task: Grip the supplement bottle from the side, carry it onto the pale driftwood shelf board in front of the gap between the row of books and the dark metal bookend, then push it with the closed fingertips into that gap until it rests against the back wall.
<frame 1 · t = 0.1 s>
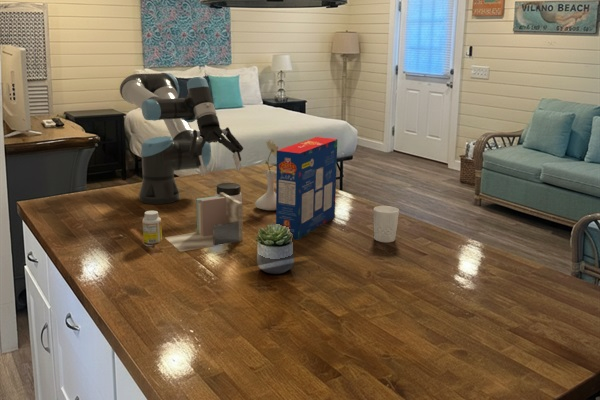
hand: (221, 172, 213), 15 cm above the worktop, tool tilted 35°, fingers open, 13 cm apart
bookend: (226, 242, 186), resting on shelf
flower in vase: (270, 208, 226), on the worktop
books: (211, 232, 195), resting on shelf
pasta box: (306, 226, 207), on the worktop
jar: (229, 219, 212), on the worktop
supplement bottle: (153, 244, 187), on the worktop
shelf: (203, 242, 189), on the worktop
white cup: (384, 239, 196), on the worktop
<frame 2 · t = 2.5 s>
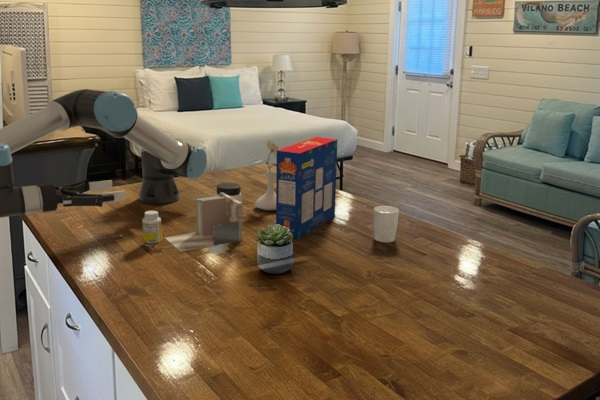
hand: (118, 189, 177), 18 cm above the worktop, tool horizontal, fingers open, 13 cm apart
nothing on the worktop moved.
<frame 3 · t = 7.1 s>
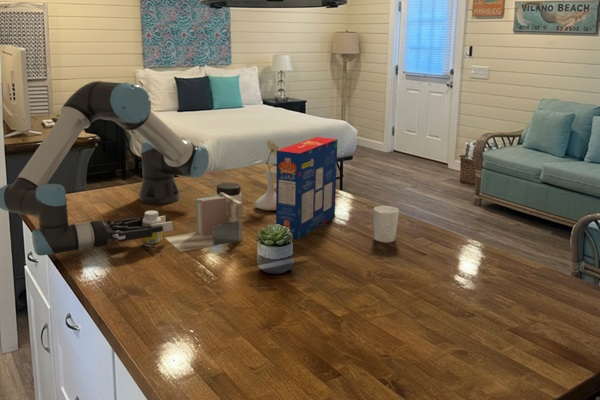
hand: (168, 222, 188), 6 cm above the worktop, tool horizontal, fingers closed on supplement bottle, 6 cm apart
supplement bottle: (153, 244, 187), on the worktop, touching gripper
everything else where it was.
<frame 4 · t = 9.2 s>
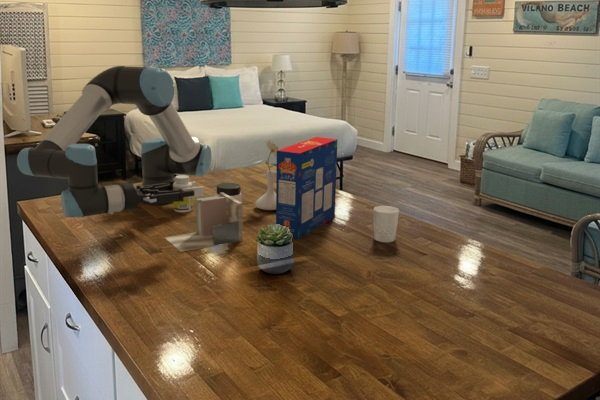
hand: (199, 188, 182), 18 cm above the worktop, tool horizontal, fingers closed on supplement bottle, 6 cm apart
supplement bottle: (183, 210, 181), point 12 cm above the worktop, touching gripper
everything else where it was.
when the fingers open (8 cm above the worktop, at t = 11.4 s): supplement bottle stays where it is, resting on shelf.
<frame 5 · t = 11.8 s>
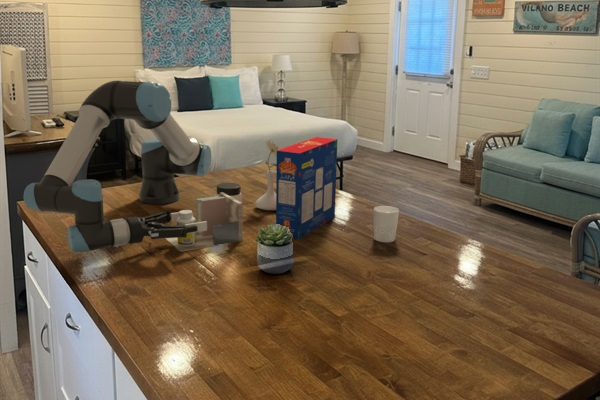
hand: (198, 220, 184), 8 cm above the worktop, tool horizontal, fingers open, 11 cm apart
supplement bottle: (187, 244, 184), point 1 cm above the worktop, touching shelf
everything else where it was.
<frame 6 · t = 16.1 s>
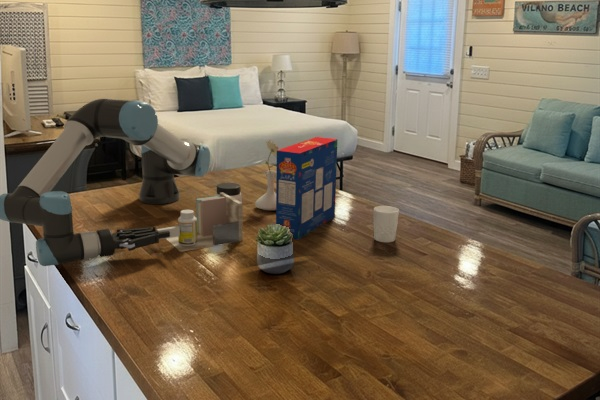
hand: (178, 230, 181), 6 cm above the worktop, tool horizontal, fingers closed
supplement bottle: (187, 244, 184), point 1 cm above the worktop, touching gripper
everything else where it was.
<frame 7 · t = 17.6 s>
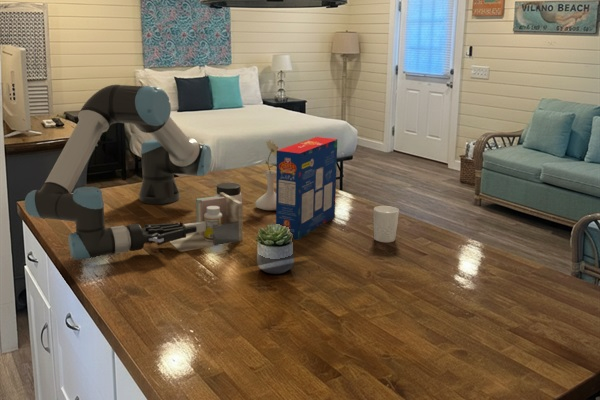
hand: (204, 226, 185), 6 cm above the worktop, tool horizontal, fingers closed
supplement bottle: (213, 239, 188), point 1 cm above the worktop, touching gripper
everything else where it was.
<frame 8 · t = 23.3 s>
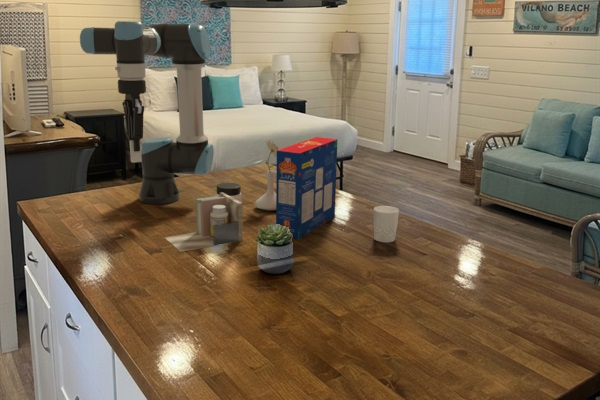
hand: (136, 161, 177), 26 cm above the worktop, tool pointing down, fingers closed
supplement bottle: (219, 238, 190), point 1 cm above the worktop, touching shelf
everything else where it was.
at the end: supplement bottle 0.4 cm from the target spot, point 1.0 cm above the worktop; supplement bottle tilted 0°; the gripper is holding nothing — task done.
